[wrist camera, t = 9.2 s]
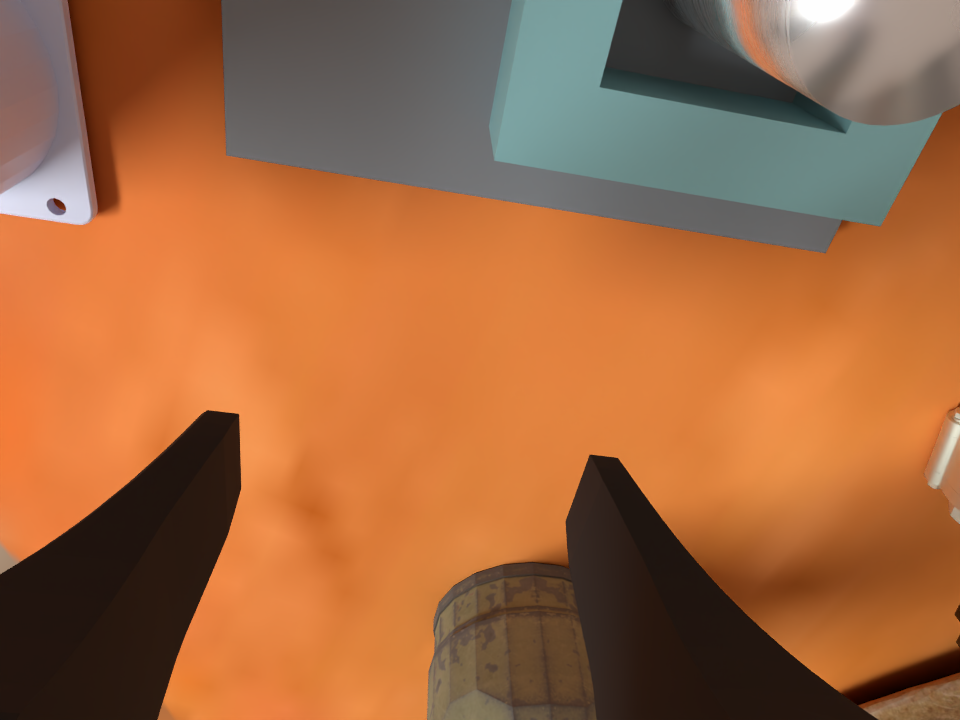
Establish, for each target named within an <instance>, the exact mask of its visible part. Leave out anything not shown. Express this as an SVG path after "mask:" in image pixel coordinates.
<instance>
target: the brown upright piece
mask: <svg viewBox="0 0 960 720" xmlns="http://www.w3.org/2000/svg"><path fill="white" fill-rule="evenodd" d="M858 706H859V707H861V708H862V709H864V710H865V711H867V712H868V713H869V714H871V715H872V716H874V717H875V718H877V719H878V720H960V673H956V674H953V675H950V676H947V677H944V678H941V679H938V680H935V681H931V682H928V683H925V684H921V685H918V686H914V687H911V688H907V689H905V690H902V691H899V692H896V693H893V694H890V695H888V696H885V697H882V698H879V699H875V700H872V701H869V702H867V703H864V704H861V705H858Z"/></svg>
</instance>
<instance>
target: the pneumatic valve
mask: <svg viewBox="0 0 960 720" xmlns="http://www.w3.org/2000/svg"><path fill="white" fill-rule="evenodd" d="M924 476H925V478H926V479H927V480H928V485H929V486H931V487H932V488H933V489H941V490H942V492H943V493H944V495H945V496H946V498H947V499H948V500H949V513H950V516H951V517H952V518H953V519H954V520H956V521H957V522H958V523H959V524H960V407H957V408H956V409H955V410H951V411H949V412H948V413H947V415H946V417H945V420H944V422H943V425H942V428H941V430H940V433H939V435H938V438H937V441H936V443H935V446H934V448H933V451H932V454H931V456H930V459H929V461H928V464H927V467H926V469H925V472H924ZM955 616H956V617H957V619H958V620H959V621H960V604H959V606H958V608H957V610H956V612H955ZM956 643H957V644H958V646H959V647H960V635H959V637H958V639H957V641H956Z"/></svg>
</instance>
